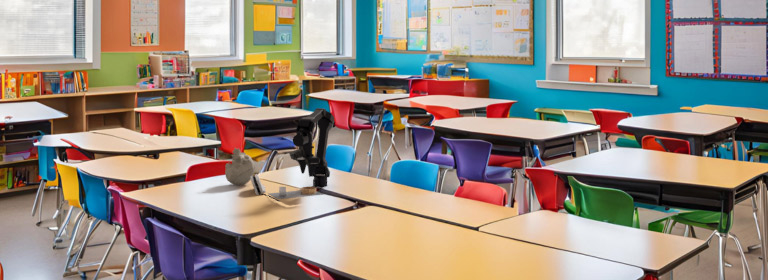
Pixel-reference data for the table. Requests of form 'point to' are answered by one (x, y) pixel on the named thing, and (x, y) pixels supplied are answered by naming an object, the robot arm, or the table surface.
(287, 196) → the base
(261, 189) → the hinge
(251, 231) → the table surface
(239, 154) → the grey lumpy stone
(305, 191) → the ring
